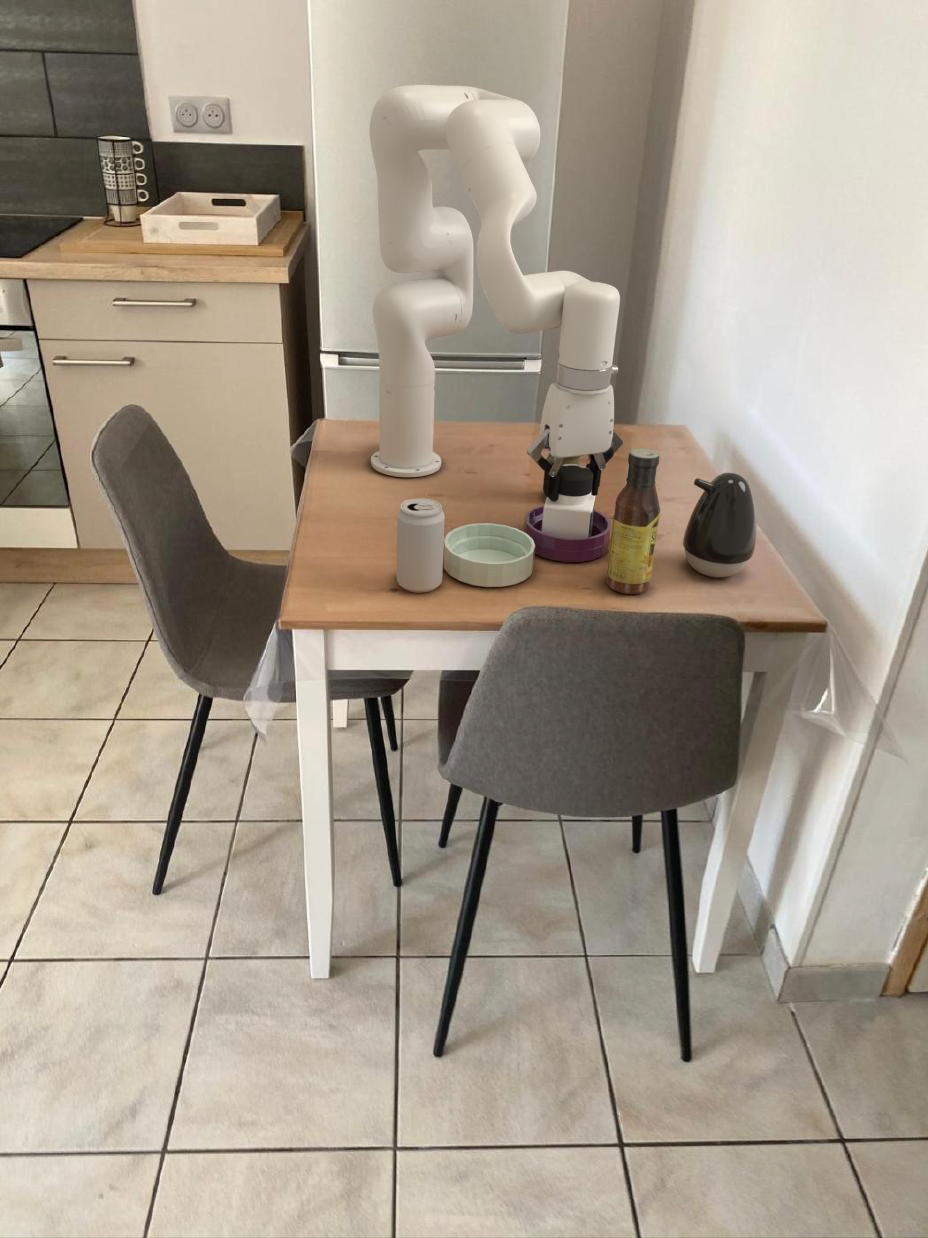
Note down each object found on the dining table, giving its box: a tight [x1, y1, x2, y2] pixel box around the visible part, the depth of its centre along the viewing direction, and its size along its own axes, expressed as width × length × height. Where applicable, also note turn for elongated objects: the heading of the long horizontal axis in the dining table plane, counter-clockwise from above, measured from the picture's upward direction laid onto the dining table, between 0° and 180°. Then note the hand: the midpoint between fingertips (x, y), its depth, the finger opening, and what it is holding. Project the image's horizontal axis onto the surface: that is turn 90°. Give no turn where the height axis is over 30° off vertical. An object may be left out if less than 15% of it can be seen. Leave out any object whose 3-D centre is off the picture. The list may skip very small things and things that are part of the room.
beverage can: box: [396, 497, 446, 594], centre depth 131 cm, size 6×6×12 cm
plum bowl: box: [522, 503, 612, 563], centre depth 146 cm, size 13×13×4 cm
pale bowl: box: [443, 522, 536, 588], centre depth 139 cm, size 13×13×4 cm
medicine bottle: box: [542, 464, 597, 538], centre depth 144 cm, size 7×7×12 cm
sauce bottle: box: [606, 447, 661, 595], centre depth 132 cm, size 7×6×20 cm
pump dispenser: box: [682, 471, 757, 578], centre depth 138 cm, size 10×10×15 cm
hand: (570, 494), depth 143 cm, fingers closed on medicine bottle, 6 cm apart
